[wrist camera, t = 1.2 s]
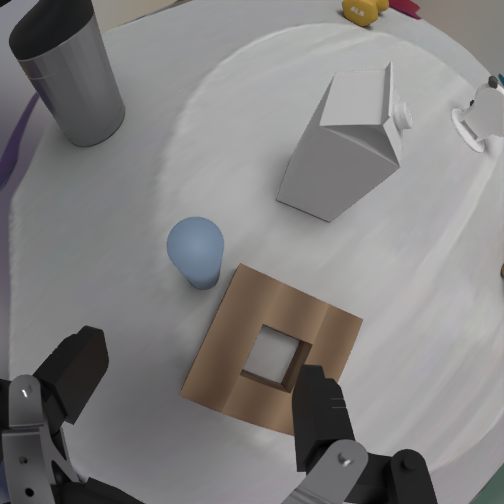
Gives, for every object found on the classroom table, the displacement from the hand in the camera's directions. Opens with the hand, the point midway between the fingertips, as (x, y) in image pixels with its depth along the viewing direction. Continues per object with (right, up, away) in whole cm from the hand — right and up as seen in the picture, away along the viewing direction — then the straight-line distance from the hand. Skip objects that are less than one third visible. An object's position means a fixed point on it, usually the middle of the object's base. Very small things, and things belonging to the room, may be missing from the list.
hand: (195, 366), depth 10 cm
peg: (-3, +2, +20) cm, 20 cm away
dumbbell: (+30, +65, +38) cm, 81 cm away
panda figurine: (+50, +31, +33) cm, 67 cm away
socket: (+4, -7, +19) cm, 21 cm away
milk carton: (+9, +12, +24) cm, 28 cm away
